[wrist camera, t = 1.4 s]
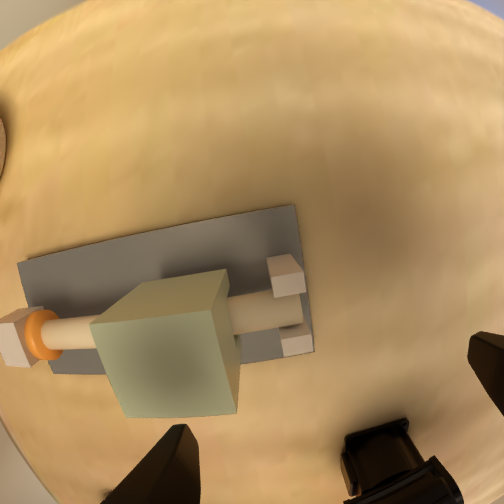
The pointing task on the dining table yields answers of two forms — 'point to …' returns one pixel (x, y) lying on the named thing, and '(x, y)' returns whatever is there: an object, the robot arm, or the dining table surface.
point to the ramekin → (2, 145)
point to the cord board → (162, 267)
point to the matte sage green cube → (172, 348)
